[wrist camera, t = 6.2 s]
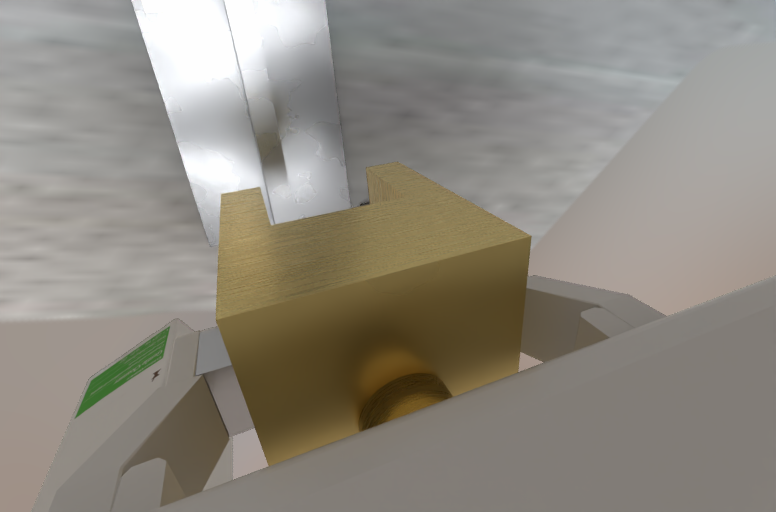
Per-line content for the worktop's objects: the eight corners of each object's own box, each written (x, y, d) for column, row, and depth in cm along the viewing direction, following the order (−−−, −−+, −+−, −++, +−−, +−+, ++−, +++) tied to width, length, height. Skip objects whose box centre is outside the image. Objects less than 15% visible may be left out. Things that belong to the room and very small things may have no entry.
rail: (296, -190, 20) (330, -322, 13) (348, 213, 30) (382, 256, 23) (68, -212, 17) (-38, -392, 10) (211, 240, 27) (204, 298, 21)
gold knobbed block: (397, 161, 12) (599, 273, 5) (409, 323, 14) (550, 520, 8) (221, 193, 10) (213, 396, 4) (272, 365, 13) (314, 642, 7)
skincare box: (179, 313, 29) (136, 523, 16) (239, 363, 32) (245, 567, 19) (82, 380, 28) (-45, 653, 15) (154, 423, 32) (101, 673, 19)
